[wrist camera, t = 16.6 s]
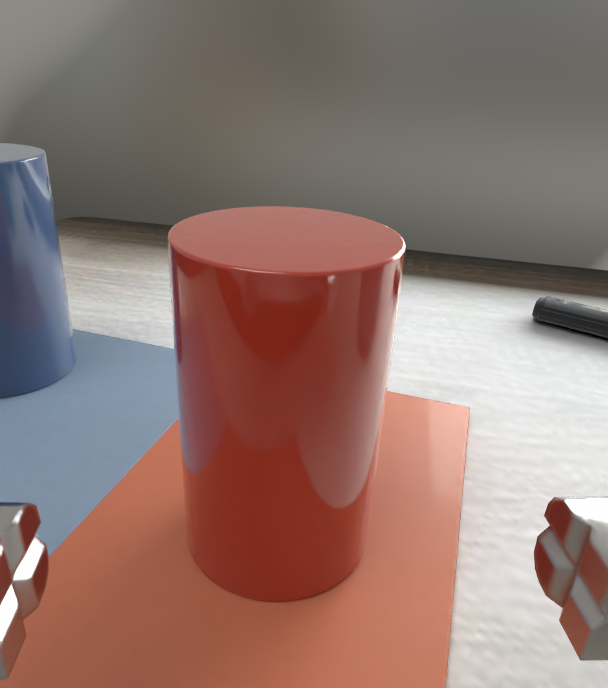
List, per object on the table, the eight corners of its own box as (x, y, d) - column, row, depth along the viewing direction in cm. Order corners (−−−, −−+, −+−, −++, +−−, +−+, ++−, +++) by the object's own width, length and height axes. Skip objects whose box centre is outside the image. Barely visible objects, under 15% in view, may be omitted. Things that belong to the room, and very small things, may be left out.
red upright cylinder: (150, 569, 17) (116, 249, 12) (232, 453, 22) (228, 197, 18) (342, 629, 15) (383, 289, 11) (381, 489, 21) (420, 220, 16)
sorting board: (-534, 600, 15) (-544, 590, 15) (10, 322, 33) (9, 316, 32) (410, 1067, 9) (414, 1059, 9) (468, 414, 26) (469, 407, 26)
